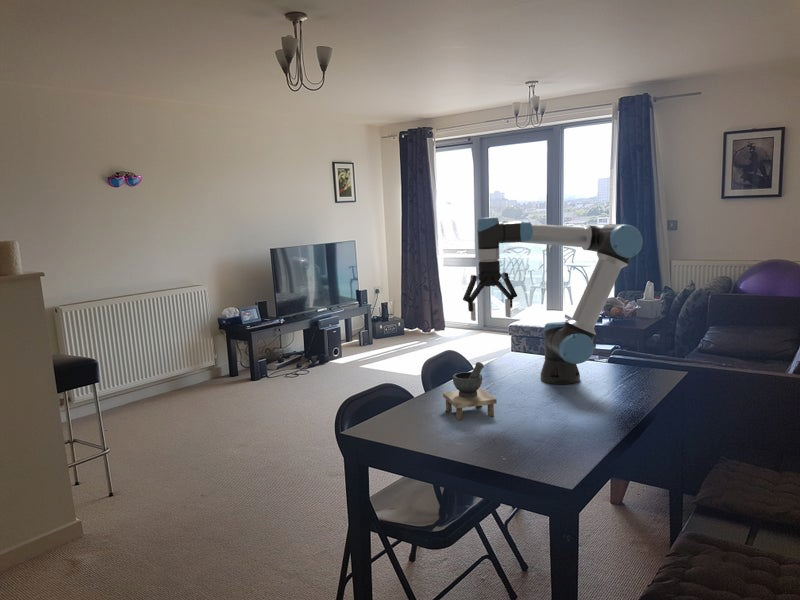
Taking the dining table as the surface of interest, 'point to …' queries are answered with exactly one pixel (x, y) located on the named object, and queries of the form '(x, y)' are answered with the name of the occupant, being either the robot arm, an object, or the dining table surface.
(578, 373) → the robot arm
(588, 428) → the dining table surface
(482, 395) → the oak footstool
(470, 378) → the mortar and pestle
